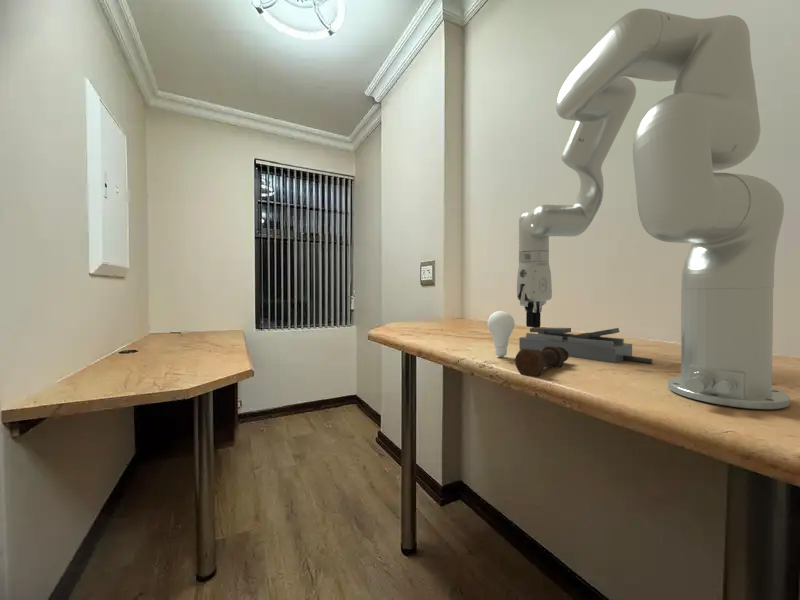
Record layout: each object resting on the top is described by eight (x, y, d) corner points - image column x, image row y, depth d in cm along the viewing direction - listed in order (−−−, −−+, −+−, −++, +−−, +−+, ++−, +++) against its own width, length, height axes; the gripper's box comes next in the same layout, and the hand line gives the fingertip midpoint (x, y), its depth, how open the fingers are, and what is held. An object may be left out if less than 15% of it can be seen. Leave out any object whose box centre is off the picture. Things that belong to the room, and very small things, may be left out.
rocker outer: (563, 334, 82) (562, 328, 82) (529, 333, 89) (529, 327, 89) (571, 333, 84) (570, 327, 84) (538, 331, 91) (538, 326, 91)
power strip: (643, 367, 66) (643, 346, 66) (519, 348, 89) (519, 333, 89) (659, 360, 72) (659, 341, 72) (538, 344, 94) (538, 330, 94)
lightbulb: (482, 356, 81) (482, 310, 80) (504, 354, 83) (504, 309, 82) (497, 360, 75) (496, 312, 75) (520, 358, 77) (519, 311, 76)
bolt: (565, 372, 72) (531, 383, 62) (545, 357, 75) (509, 366, 65) (579, 350, 69) (546, 358, 59) (558, 336, 73) (523, 342, 63)
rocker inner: (612, 335, 73) (610, 328, 73) (572, 341, 80) (570, 335, 80) (620, 333, 75) (618, 327, 76) (580, 339, 82) (578, 333, 83)
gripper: (530, 257, 82) (530, 331, 83) (561, 258, 91) (561, 325, 92) (504, 259, 88) (504, 328, 89) (536, 260, 97) (535, 323, 98)
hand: (533, 326), depth 91 cm, fingers closed
